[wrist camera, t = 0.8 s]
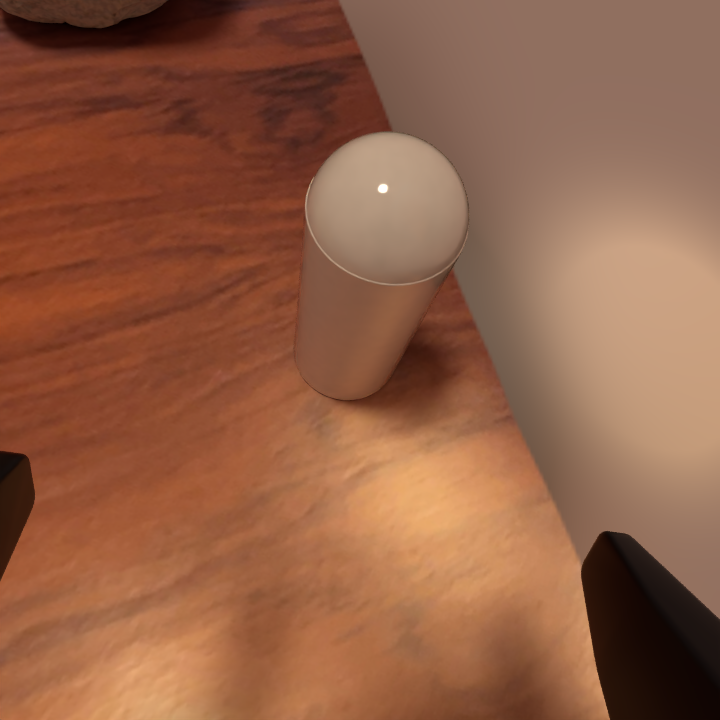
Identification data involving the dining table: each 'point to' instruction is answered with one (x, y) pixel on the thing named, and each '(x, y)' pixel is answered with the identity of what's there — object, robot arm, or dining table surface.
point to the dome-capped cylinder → (373, 258)
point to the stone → (80, 10)
